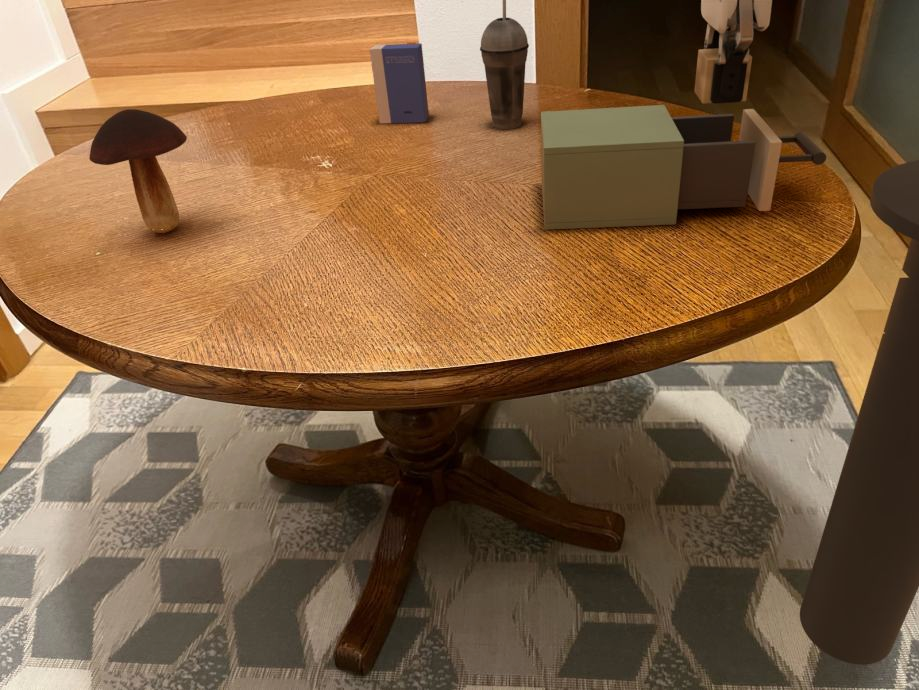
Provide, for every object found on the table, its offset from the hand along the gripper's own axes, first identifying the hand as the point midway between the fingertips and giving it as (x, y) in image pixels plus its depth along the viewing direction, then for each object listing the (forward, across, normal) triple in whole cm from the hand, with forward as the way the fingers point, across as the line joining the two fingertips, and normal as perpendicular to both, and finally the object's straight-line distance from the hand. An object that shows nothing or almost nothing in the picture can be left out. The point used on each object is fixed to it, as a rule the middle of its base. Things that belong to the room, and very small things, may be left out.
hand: (720, 93), depth 79 cm
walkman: (+13, +37, +41) cm, 57 cm away
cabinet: (+12, 0, +12) cm, 17 cm away
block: (0, 0, 0) cm, 0 cm away
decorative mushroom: (+13, -2, +66) cm, 67 cm away
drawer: (+12, 0, -2) cm, 12 cm away
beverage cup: (+13, +32, +24) cm, 42 cm away
